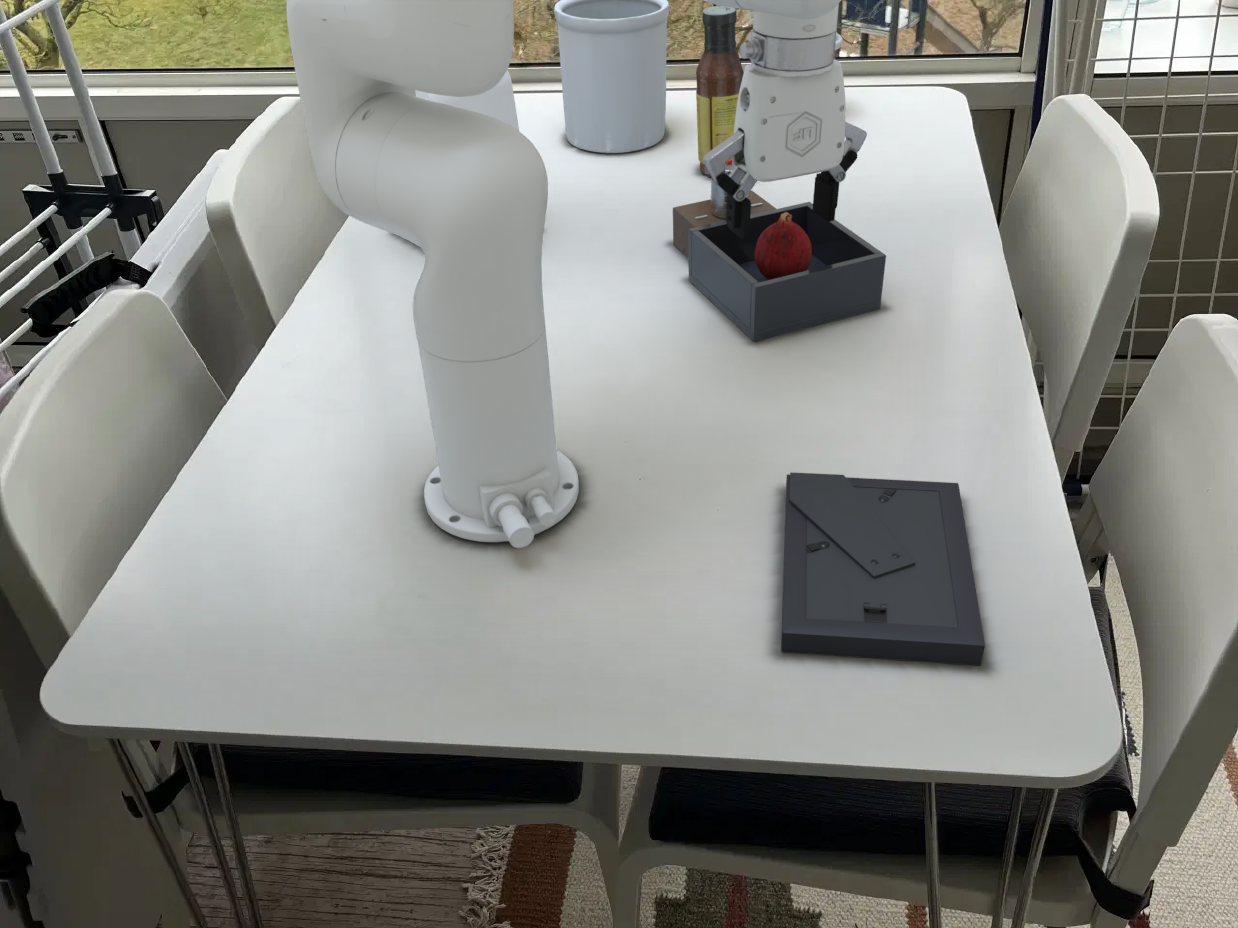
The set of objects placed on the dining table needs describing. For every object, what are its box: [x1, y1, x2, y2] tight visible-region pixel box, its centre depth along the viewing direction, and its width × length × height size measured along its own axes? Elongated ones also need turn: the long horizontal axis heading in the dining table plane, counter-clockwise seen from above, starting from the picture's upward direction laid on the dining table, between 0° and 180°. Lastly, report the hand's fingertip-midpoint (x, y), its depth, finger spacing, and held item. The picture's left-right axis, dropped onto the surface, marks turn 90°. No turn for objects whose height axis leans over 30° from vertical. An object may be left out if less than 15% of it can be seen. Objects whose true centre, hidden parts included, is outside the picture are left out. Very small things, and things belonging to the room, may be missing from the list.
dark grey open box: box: [688, 201, 887, 343], centre depth 117 cm, size 15×15×6 cm
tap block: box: [672, 189, 777, 259], centre depth 126 cm, size 8×10×5 cm
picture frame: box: [780, 471, 986, 666], centre depth 83 cm, size 13×2×18 cm
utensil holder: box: [553, 0, 670, 154], centre depth 152 cm, size 15×15×18 cm
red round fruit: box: [754, 212, 812, 280], centre depth 116 cm, size 6×6×8 cm
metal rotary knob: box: [710, 157, 748, 219], centre depth 123 cm, size 4×4×6 cm
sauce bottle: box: [695, 5, 744, 177], centre depth 140 cm, size 6×6×20 cm
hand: (781, 225), depth 114 cm, fingers open, 9 cm apart
